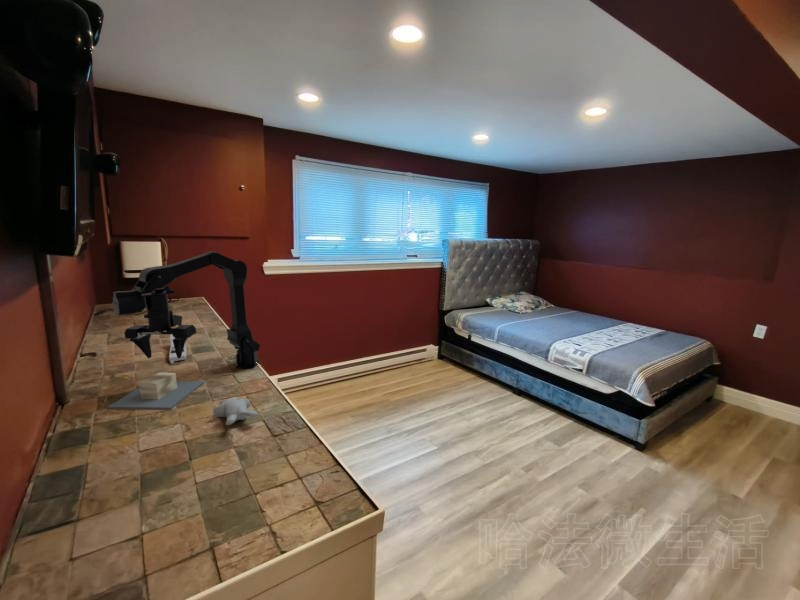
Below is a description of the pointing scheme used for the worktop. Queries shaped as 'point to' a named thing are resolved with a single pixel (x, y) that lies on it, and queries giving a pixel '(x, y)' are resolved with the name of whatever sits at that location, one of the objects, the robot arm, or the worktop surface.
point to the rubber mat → (165, 402)
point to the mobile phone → (172, 352)
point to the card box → (158, 385)
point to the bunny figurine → (234, 410)
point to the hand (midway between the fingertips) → (164, 357)
